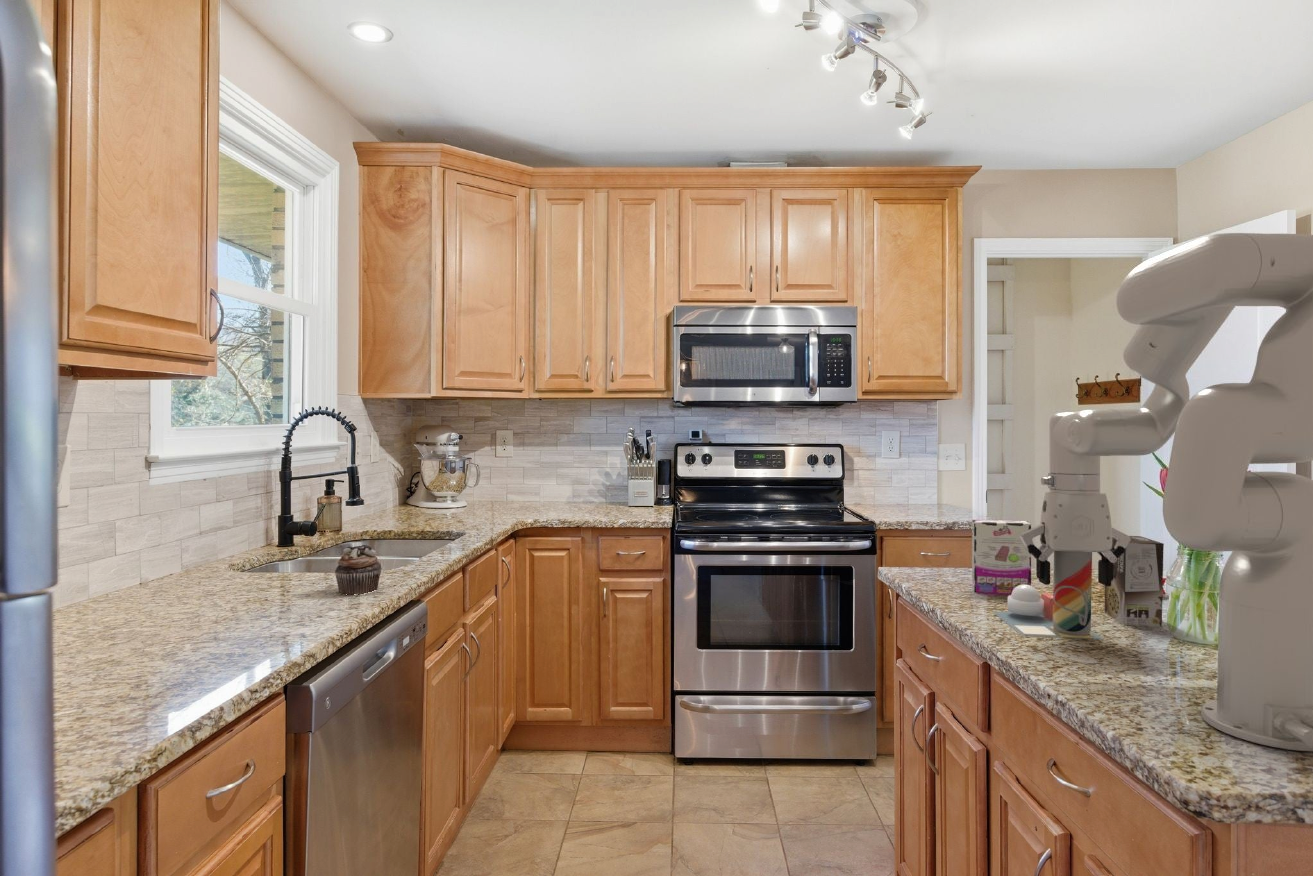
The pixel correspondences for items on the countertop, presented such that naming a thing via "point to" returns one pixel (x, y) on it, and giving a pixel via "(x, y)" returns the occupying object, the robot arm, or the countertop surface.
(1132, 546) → the coffee box
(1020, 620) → the game board
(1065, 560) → the lotion bottle
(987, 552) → the candy bar box
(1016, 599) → the dome
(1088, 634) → the pad
